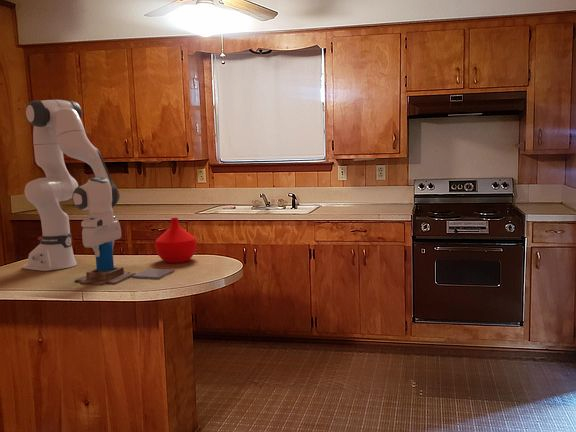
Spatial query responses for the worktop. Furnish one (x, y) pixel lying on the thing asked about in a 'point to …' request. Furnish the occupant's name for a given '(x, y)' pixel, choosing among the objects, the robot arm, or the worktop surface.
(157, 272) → the coaster
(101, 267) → the beverage can
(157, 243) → the vase
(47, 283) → the worktop surface
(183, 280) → the worktop surface
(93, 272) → the socket
